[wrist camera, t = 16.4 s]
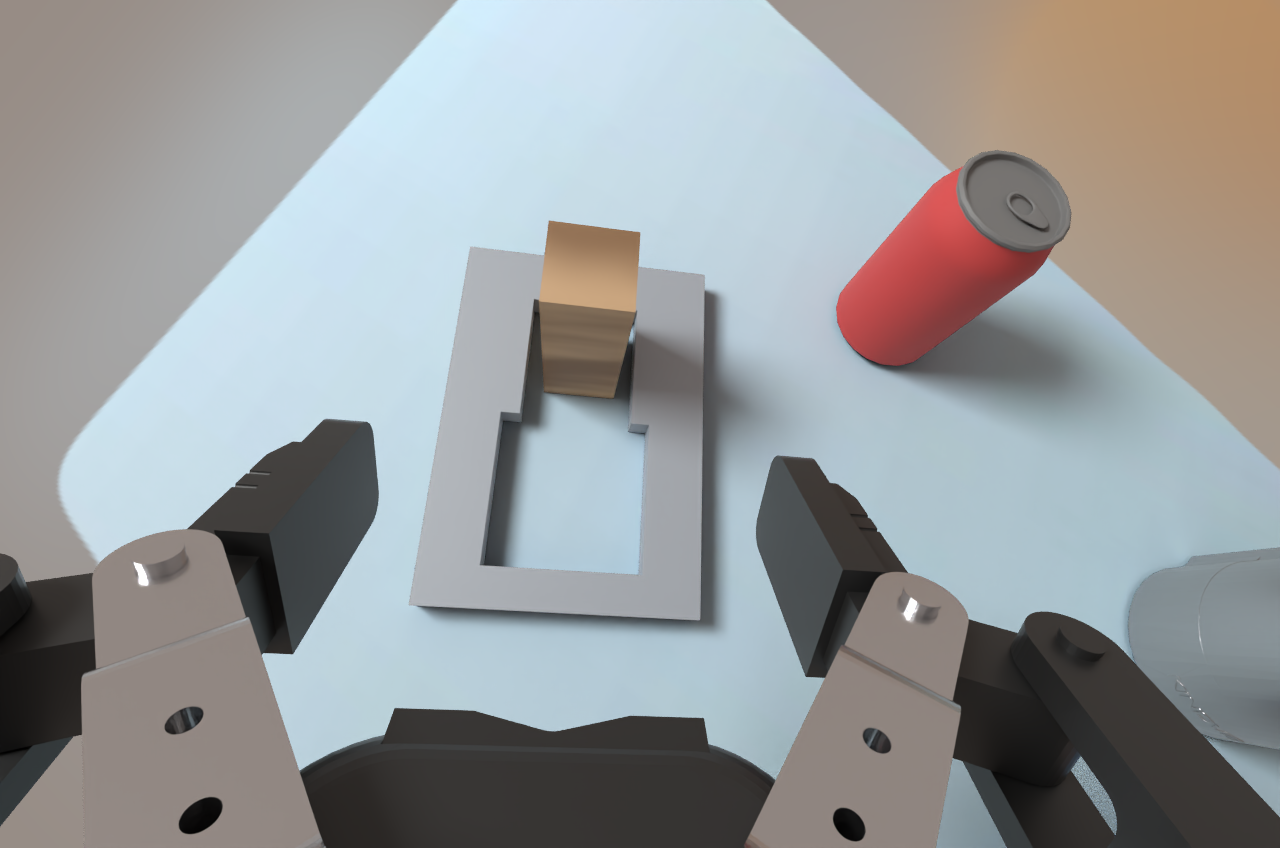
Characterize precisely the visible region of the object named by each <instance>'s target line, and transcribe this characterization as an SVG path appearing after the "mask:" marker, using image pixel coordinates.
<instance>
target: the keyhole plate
mask: <svg viewBox="0 0 1280 848" xmlns="http://www.w3.org/2000/svg"><path fill="white" fill-rule="evenodd" d="M544 257H545V256H544V255H536V254H527V253H519V252H511V251H503V250H494V249H486V248H478V247H470V251H469V257H468V263H467V269H466V275H465V280H464V286H463V292H462V298H461V304H460V309H459V315H458V321H457V327H456V333H455V338H454V344H453V350H452V356H451V362H450V368H449V373H448V379H447V385H446V391H445V397H444V402H443V408H442V414H441V420H440V426H439V432H438V437H437V443H436V449H435V455H434V461H433V466H432V472H431V478H430V484H429V490H428V495H427V501H426V507H425V513H424V519H423V525H422V530H421V536H420V542H419V548H418V554H417V559H416V565H415V571H414V577H413V583H412V588H411V594H410V600H409V605H414V606H429V607H448V608H467V609H487V610H506V611H525V612H544V613H563V614H582V615H601V616H620V617H639V618H658V619H677V620H700V603H701V524H702V445H703V366H704V287H705V275H701V274H693V273H685V272H676V271H668V270H660V269H652V268H643V267H638V279H637V296H636V312H635V316H634V320H633V323H634V335H633V352H632V370H631V387H630V404H629V422H628V432H636V433H645V449H644V470H643V492H642V513H641V534H640V555H639V575H631V574H615V573H598V572H582V571H565V570H549V569H532V568H516V567H500V566H484V560H485V553H486V545H487V538H488V530H489V523H490V516H491V508H492V501H493V493H494V486H495V478H496V471H497V463H498V456H499V448H500V441H501V433H502V426H503V421H511V422H521V421H522V413H523V405H524V397H525V389H526V381H527V372H528V364H529V356H530V348H531V340H532V332H533V323H534V315H535V312H537V313H540V310H539V297H540V289H541V281H542V273H543V265H544Z"/></svg>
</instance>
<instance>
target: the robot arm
mask: <svg viewBox="0 0 1280 848" xmlns="http://www.w3.org/2000/svg"><path fill="white" fill-rule="evenodd" d="M378 498H379V491H378V479H377V469H376V458H375V447H374V437H373V431H372V427H371V425H370V424H369V423H368V422H361V421H348V420H336V419H325V420H323V421H322V422H321V423H320V424H319V425H318V426H317V427H316V428H315V429H314V430H313V431H312V432H311V433H310V434H309V435H308V436H307V437H306V438H305V439H304V440H303V441H302V442H291V443H289V444H287V445H285V446H283V447H281V448H279V449H277V450H275V451H273V452H271V453H269V454H267V455H266V456H265V457H263V458H262V459H261V460H260V461H259V462H258V463H257V464H256V465H255V466H254V467H253V468H252V469H251V470H250V473H249V474H245V475H244V476H243V477H242V478H241V479H240V480H239V481H238V482H237V483H236V486H235V487H231V488H230V489H229V490H228V491H227V492H226V493H225V494H224V495H223V496H222V497H221V498H220V499H219V500H218V501H217V502H215V503H214V504H213V505H212V506H211V507H210V508H209V509H208V510H207V511H206V512H205V513H204V514H203V515H202V516H201V517H199V518H198V519H197V520H196V521H195V522H194V523H193V524H192V525H191V526H190V527H189V528H188V529H184V530H172V531H166V532H161V533H156V534H153V535H149V536H146V537H143V538H140V539H137V540H135V541H132V542H130V543H128V544H126V545H124V546H122V547H120V548H119V549H117V550H115V551H114V552H112V553H111V554H109V555H108V556H107V557H106V558H104V559H103V560H102V561H101V562H100V563H99V565H98V566H97V567H96V569H95V571H94V573H90V574H83V575H75V576H69V577H61V578H53V579H46V580H39V581H31V582H25V580H24V578H23V576H22V574H21V571H20V569H19V567H18V564H17V562H16V561H15V560H14V559H13V558H12V557H10V556H7V555H5V554H0V826H1V824H3V822H4V821H5V820H6V818H7V817H8V816H9V815H10V814H11V812H12V811H13V810H14V809H15V807H16V806H17V805H18V804H19V803H20V801H21V800H22V799H23V798H24V796H25V795H26V794H27V793H28V792H29V790H30V789H31V788H32V787H33V785H34V784H35V783H36V782H37V781H38V779H39V778H40V777H41V776H42V774H43V773H44V772H45V771H46V769H47V768H48V767H49V766H50V765H51V763H52V762H53V761H54V760H55V758H56V757H57V756H58V755H59V753H60V752H61V751H62V750H63V749H64V747H65V746H66V745H67V744H68V742H69V741H70V740H71V739H72V738H73V736H78V735H82V756H83V807H84V808H83V809H84V848H936V843H937V838H938V833H939V827H940V822H941V817H942V811H943V806H944V801H945V795H946V790H947V785H948V779H949V774H950V769H951V763H952V758H955V759H958V760H961V761H963V763H964V765H965V767H966V769H967V770H968V772H969V774H970V776H971V778H972V780H973V782H974V784H975V786H976V788H977V790H978V792H979V794H980V796H981V798H982V800H983V802H984V804H985V806H986V807H987V809H988V811H989V813H990V815H991V817H992V819H993V821H994V823H995V825H996V827H997V829H998V831H999V833H1000V835H1001V837H1002V839H1003V841H1004V842H1005V844H1006V846H1007V848H1280V817H1279V816H1278V815H1277V814H1276V813H1275V812H1274V811H1273V810H1272V809H1271V808H1270V806H1269V805H1268V804H1267V803H1266V802H1265V801H1264V800H1263V799H1262V798H1261V797H1260V796H1259V795H1258V794H1257V793H1256V792H1255V791H1254V789H1253V788H1252V787H1251V786H1250V785H1249V784H1248V783H1247V782H1246V781H1245V780H1244V779H1243V778H1242V777H1241V776H1240V775H1239V774H1238V772H1237V771H1236V770H1235V769H1234V768H1233V767H1232V766H1231V765H1230V764H1229V763H1228V762H1227V761H1226V760H1225V759H1224V758H1223V757H1222V755H1221V754H1220V753H1219V752H1218V751H1217V750H1216V749H1215V748H1214V747H1213V746H1212V745H1211V744H1210V743H1209V742H1208V741H1207V739H1206V738H1205V737H1204V736H1203V735H1206V736H1209V737H1212V738H1216V739H1221V740H1227V741H1233V742H1238V743H1244V744H1250V745H1256V746H1261V747H1267V748H1273V749H1278V750H1280V547H1279V548H1270V549H1260V550H1251V551H1241V552H1231V553H1222V554H1212V555H1203V556H1193V557H1191V558H1190V560H1189V561H1188V563H1187V564H1186V565H1185V566H1183V567H1178V568H1168V569H1163V570H1161V571H1158V572H1156V573H1153V574H1152V575H1151V576H1149V577H1148V578H1147V579H1146V580H1144V581H1143V582H1142V584H1141V585H1140V586H1139V588H1138V589H1137V591H1136V592H1135V594H1134V597H1133V600H1132V603H1131V605H1130V611H1129V619H1128V629H1129V641H1130V645H1131V649H1132V653H1133V657H1134V660H1135V662H1136V664H1135V663H1134V662H1133V661H1132V660H1131V659H1130V658H1129V657H1128V655H1127V654H1126V653H1125V652H1124V651H1123V650H1122V649H1121V648H1120V647H1119V646H1118V645H1117V644H1115V643H1114V642H1113V641H1112V640H1110V639H1109V638H1108V637H1106V636H1105V635H1104V634H1102V633H1101V632H1099V631H1097V630H1096V629H1094V628H1092V627H1091V626H1089V625H1087V624H1085V623H1083V622H1081V621H1078V620H1076V619H1074V618H1071V617H1068V616H1065V615H1061V614H1058V613H1052V612H1035V613H1032V614H1030V615H1029V616H1027V618H1026V620H1025V621H1024V623H1023V625H1022V627H1021V629H1020V630H1019V632H1018V633H1015V632H1011V631H1008V630H1004V629H1001V628H997V627H994V626H990V625H986V624H983V623H979V622H976V621H973V620H970V619H968V615H967V612H966V610H965V608H964V607H963V606H962V604H961V603H960V602H959V601H958V600H957V599H956V597H954V596H953V595H952V594H951V593H950V592H948V591H947V590H946V589H944V588H943V587H941V586H940V585H938V584H936V583H934V582H932V581H930V580H928V579H926V578H923V577H921V576H917V575H914V574H910V573H908V572H907V571H906V569H905V568H904V566H903V565H902V564H901V562H900V561H899V559H898V558H897V556H896V555H895V553H894V552H893V551H892V549H891V548H890V546H889V545H888V543H887V542H886V540H885V539H884V538H883V536H882V535H881V533H880V532H877V528H876V526H875V525H874V523H873V522H872V520H871V519H870V518H868V515H867V513H866V512H865V510H864V509H863V507H862V506H861V504H860V503H859V502H858V500H857V499H856V498H855V497H854V496H852V495H851V494H850V493H848V492H847V491H846V490H844V489H843V488H842V487H841V486H839V485H838V484H834V483H829V481H828V479H827V478H826V476H825V475H824V473H823V472H822V470H821V469H820V467H819V466H818V464H817V463H816V461H815V460H814V459H812V458H801V457H788V456H776V457H775V458H774V459H773V461H772V463H771V467H770V470H769V474H768V478H767V482H766V486H765V490H764V494H763V498H762V502H761V506H760V510H759V514H758V518H757V525H756V540H757V546H758V549H759V552H760V555H761V557H762V560H763V563H764V566H765V568H766V571H767V574H768V576H769V579H770V582H771V584H772V587H773V590H774V593H775V595H776V598H777V601H778V603H779V606H780V609H781V611H782V614H783V617H784V619H785V622H786V625H787V628H788V630H789V633H790V636H791V638H792V641H793V644H794V646H795V649H796V652H797V654H798V657H799V660H800V663H801V665H802V668H803V671H804V673H805V676H806V677H822V678H825V679H824V681H823V684H822V686H821V688H820V690H819V692H818V694H817V696H816V698H815V700H814V702H813V704H812V706H811V708H810V710H809V713H808V715H807V717H806V719H805V721H804V723H803V725H802V727H801V729H800V731H799V733H798V735H797V737H796V739H795V742H794V744H793V746H792V748H791V750H790V752H789V754H788V756H787V758H786V760H785V762H784V764H783V766H782V768H781V771H780V773H779V775H778V777H777V779H776V780H775V779H773V778H772V777H771V776H770V775H769V774H767V773H766V772H764V771H763V770H761V769H760V768H758V767H757V766H756V765H754V764H753V763H751V762H749V761H747V760H745V759H743V758H742V757H740V756H738V755H736V754H734V753H732V752H729V751H727V750H724V749H722V748H719V747H716V746H713V745H710V744H708V740H707V734H706V728H705V722H704V718H681V717H650V716H628V717H623V718H618V719H614V720H609V721H604V722H600V723H595V724H590V725H585V726H581V727H576V728H571V729H566V730H562V731H555V732H554V731H544V730H541V729H537V728H533V727H530V726H526V725H523V724H519V723H516V722H512V721H508V720H505V719H501V718H498V717H494V716H491V715H487V714H483V713H480V712H476V711H465V710H434V709H403V708H395V709H394V712H393V714H392V717H391V720H390V723H389V725H388V728H387V731H386V733H385V735H383V736H378V737H374V738H371V739H367V740H364V741H361V742H358V743H355V744H352V745H349V746H347V747H344V748H342V749H340V750H337V751H335V752H332V753H330V754H328V755H327V756H325V757H323V758H321V759H319V760H317V761H315V762H313V763H311V764H310V765H308V766H306V767H305V768H303V769H302V770H300V771H299V769H298V766H297V763H296V760H295V756H294V753H293V750H292V747H291V744H290V741H289V738H288V735H287V732H286V729H285V726H284V723H283V720H282V717H281V714H280V710H279V707H278V704H277V701H276V698H275V695H274V692H273V689H272V686H271V683H270V680H269V677H268V674H267V671H266V668H265V664H264V661H263V658H262V654H263V653H277V654H293V653H294V652H295V650H296V648H297V647H298V645H299V644H300V642H301V640H302V639H303V637H304V635H305V634H306V632H307V630H308V629H309V627H310V625H311V624H312V622H313V620H314V619H315V617H316V615H317V614H318V612H319V610H320V609H321V607H322V605H323V604H324V602H325V600H326V599H327V597H328V595H329V594H330V592H331V591H332V589H333V587H334V586H335V584H336V582H337V581H338V579H339V577H340V576H341V574H342V572H343V571H344V569H345V567H346V566H347V564H348V562H349V561H350V559H351V557H352V556H353V554H354V552H355V551H356V549H357V547H358V546H359V544H360V542H361V541H362V539H363V538H364V536H365V534H366V533H367V531H368V529H369V528H370V526H371V524H372V522H373V520H374V518H375V515H376V511H377V506H378ZM1202 734H1203V735H1202ZM1080 756H1081V757H1082V758H1083V759H1084V761H1085V762H1086V764H1087V765H1088V766H1089V768H1090V769H1091V771H1092V772H1093V773H1094V775H1095V776H1096V778H1097V779H1098V780H1099V782H1100V783H1101V785H1102V786H1103V787H1104V789H1105V790H1106V792H1107V793H1108V795H1109V797H1110V799H1111V801H1112V803H1113V806H1114V809H1115V812H1116V817H1117V832H1116V835H1114V833H1113V832H1112V830H1111V829H1110V827H1109V826H1108V824H1107V823H1106V822H1105V820H1104V819H1103V817H1102V816H1101V814H1100V813H1099V811H1098V810H1097V808H1096V807H1095V805H1094V804H1093V802H1092V801H1091V799H1090V798H1089V796H1088V795H1087V794H1086V792H1085V791H1084V789H1083V788H1082V786H1081V785H1080V783H1079V782H1078V780H1077V779H1076V777H1075V776H1074V774H1073V773H1072V771H1071V769H1072V768H1073V766H1074V765H1075V763H1076V762H1077V760H1078V759H1079V758H1080Z"/></svg>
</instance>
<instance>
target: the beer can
mask: <svg viewBox="0 0 1280 848" xmlns="http://www.w3.org/2000/svg"><path fill="white" fill-rule="evenodd" d="M1070 221H1071V209H1070V206H1069V202H1068V198H1067V196H1066V194H1065V192H1064V190H1063V189H1062V187H1061V185H1060V184H1059V182H1058V181H1057V180H1056V179H1055V178H1054V177H1053V176H1052V175H1051V174H1050V173H1049V172H1048V171H1047V169H1045V168H1043V167H1042V166H1041V165H1039V164H1038V163H1036V162H1035V161H1033V160H1032V159H1029V158H1027V157H1024V156H1022V155H1019V154H1017V153H1013V152H1006V151H999V150H995V151H988V152H981V153H979V154H978V155H976V156H974V157H972V158H970V159H969V160H968V161H967V162H966V164H965V165H964V166H963V167H961V168H959V169H957V170H955V171H953V172H951V173H950V174H948V175H946V176H944V177H943V178H941V179H940V180H939V181H937V182H936V183H935V184H933V185H932V186H931V187H930V189H929V190H928V191H927V192H926V193H925V194H924V196H923V197H922V198H921V199H920V200H919V201H918V203H917V204H916V205H915V206H914V207H913V208H912V210H911V211H910V212H909V213H908V214H907V215H906V217H905V218H904V219H903V220H902V221H901V222H900V224H899V225H898V226H897V227H896V228H895V229H894V231H893V232H892V233H891V234H890V235H889V236H888V237H887V239H886V240H885V241H884V242H883V243H882V244H881V246H880V247H879V248H878V249H877V250H876V251H875V253H874V254H873V255H872V256H871V257H870V258H869V260H868V261H867V262H866V263H865V264H864V265H863V267H862V268H861V269H860V270H859V271H858V272H857V274H856V275H855V276H854V277H853V278H852V279H851V281H850V282H849V283H848V284H847V285H846V287H845V288H844V289H843V291H842V292H841V293H840V296H839V299H838V303H837V307H836V311H837V322H838V325H839V327H840V330H841V332H842V334H843V337H844V338H845V339H846V340H847V342H848V343H849V344H850V345H851V346H852V348H853V349H854V350H856V351H857V352H858V353H860V354H861V355H862V356H864V357H865V358H867V359H869V360H872V361H874V362H877V363H879V364H883V365H894V366H899V365H903V364H908V363H912V362H914V361H915V360H917V359H918V358H920V357H921V356H923V355H924V354H926V353H927V352H928V351H930V350H931V349H932V348H934V347H935V346H937V345H938V344H939V343H941V342H942V341H943V340H945V339H946V338H948V337H949V336H950V335H952V334H953V333H954V332H956V331H957V330H958V329H960V328H961V327H963V326H964V325H965V324H967V323H968V322H969V321H971V320H972V319H974V318H975V317H976V316H978V315H979V314H980V313H982V312H983V311H985V310H986V309H987V308H989V307H990V306H991V305H993V304H994V303H996V302H997V301H998V300H1000V299H1001V298H1002V297H1004V296H1005V295H1007V294H1008V293H1009V292H1011V291H1012V290H1013V289H1015V288H1016V287H1017V286H1019V285H1020V284H1022V283H1023V282H1024V281H1026V280H1027V279H1028V278H1030V277H1031V276H1033V275H1034V274H1035V273H1036V272H1037V271H1038V269H1039V268H1040V267H1041V266H1042V265H1043V264H1044V262H1045V260H1046V259H1047V257H1048V255H1049V254H1050V252H1051V250H1052V248H1053V247H1054V245H1055V244H1057V243H1058V242H1060V241H1061V240H1062V239H1063V238H1064V237H1065V235H1066V233H1067V232H1068V230H1069V228H1070Z"/></svg>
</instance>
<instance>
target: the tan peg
mask: <svg viewBox="0 0 1280 848" xmlns="http://www.w3.org/2000/svg"><path fill="white" fill-rule="evenodd" d="M639 245H640V232H632V231H625V230H617V229H609V228H601V227H594V226H586V225H578V224H571V223H563V222H555V221H549V224H548V232H547V240H546V248H545V257H544V265H543V273H542V281H541V289H540V297H539V310H540V329H541V347H542V366H543V385H544V392H548V393H558V394H569V395H579V396H590V397H600V398H610V399H613V398H614V395H615V391H616V387H617V383H618V379H619V375H620V371H621V367H622V363H623V359H624V355H625V352H626V348H627V344H628V340H629V336H630V332H631V328H632V324H633V320H634V316H635V312H636V296H637V279H638V262H639Z"/></svg>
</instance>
